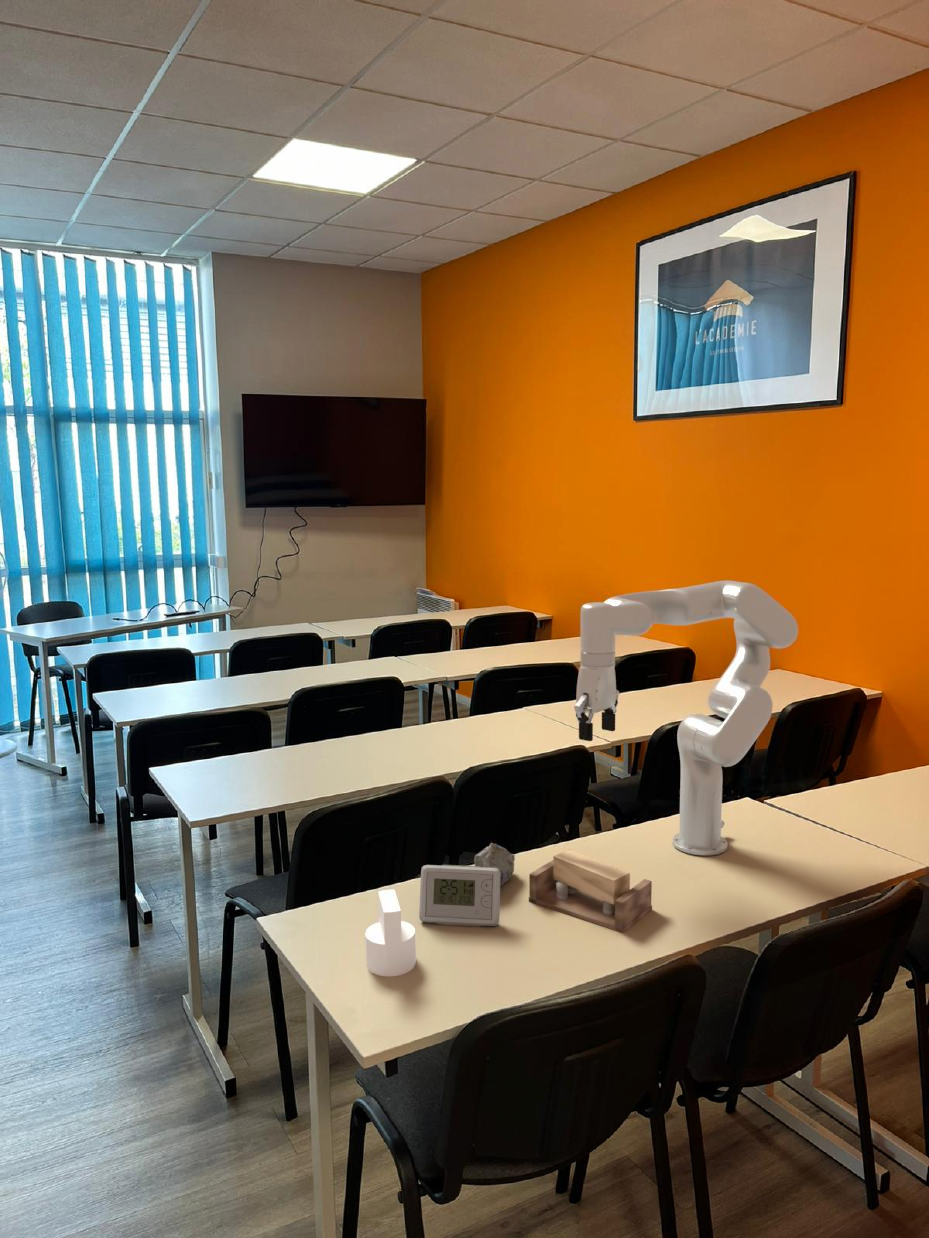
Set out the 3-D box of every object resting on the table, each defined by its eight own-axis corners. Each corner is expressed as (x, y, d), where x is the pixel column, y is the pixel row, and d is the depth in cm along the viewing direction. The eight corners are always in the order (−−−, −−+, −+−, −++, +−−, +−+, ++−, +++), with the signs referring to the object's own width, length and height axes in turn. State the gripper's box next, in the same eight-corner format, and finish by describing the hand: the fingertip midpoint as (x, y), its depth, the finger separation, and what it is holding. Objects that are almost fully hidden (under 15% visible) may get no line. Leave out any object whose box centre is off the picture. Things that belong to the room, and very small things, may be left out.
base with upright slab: (419, 972, 159) (418, 909, 157) (369, 979, 157) (366, 914, 156) (412, 947, 168) (410, 887, 166) (363, 953, 166) (361, 892, 164)
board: (569, 871, 191) (569, 849, 190) (629, 896, 179) (629, 872, 178) (553, 878, 187) (553, 856, 187) (613, 904, 175) (613, 880, 175)
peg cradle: (560, 880, 195) (560, 854, 194) (652, 909, 181) (652, 881, 180) (528, 901, 186) (528, 873, 185) (623, 932, 172) (623, 903, 171)
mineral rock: (509, 870, 201) (509, 827, 199) (534, 889, 191) (534, 844, 190) (458, 882, 195) (457, 838, 194) (481, 902, 186) (480, 856, 184)
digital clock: (414, 923, 177) (413, 872, 176) (431, 903, 186) (430, 854, 184) (493, 936, 172) (492, 883, 170) (506, 914, 180) (506, 864, 178)
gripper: (602, 651, 205) (602, 724, 207) (561, 663, 192) (561, 741, 194) (632, 654, 200) (631, 729, 203) (592, 667, 187) (591, 747, 190)
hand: (597, 735), depth 199 cm, fingers open, 9 cm apart
